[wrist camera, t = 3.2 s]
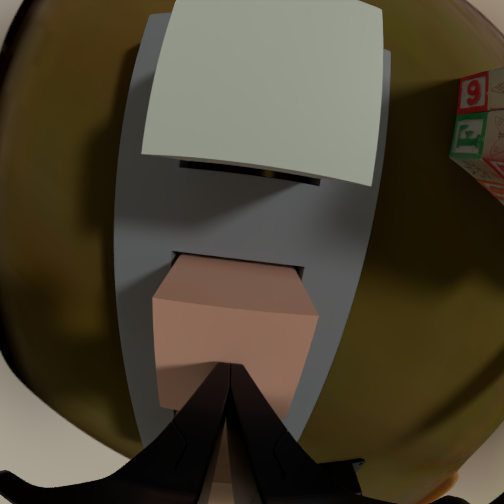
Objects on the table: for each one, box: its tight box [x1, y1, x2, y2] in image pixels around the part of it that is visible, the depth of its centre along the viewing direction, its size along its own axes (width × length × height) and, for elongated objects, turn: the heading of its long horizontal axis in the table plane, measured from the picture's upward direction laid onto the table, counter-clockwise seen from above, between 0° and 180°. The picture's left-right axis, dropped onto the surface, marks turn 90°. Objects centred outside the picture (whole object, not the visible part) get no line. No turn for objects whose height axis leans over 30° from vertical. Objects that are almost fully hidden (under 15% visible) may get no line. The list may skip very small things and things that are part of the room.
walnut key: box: [175, 410, 234, 504], centre depth 12 cm, size 5×5×5 cm
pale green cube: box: [141, 0, 383, 186], centre depth 7 cm, size 5×5×5 cm
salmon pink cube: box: [152, 252, 319, 419], centre depth 11 cm, size 5×5×5 cm
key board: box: [114, 13, 391, 449], centre depth 13 cm, size 27×11×2 cm, turn 172°
